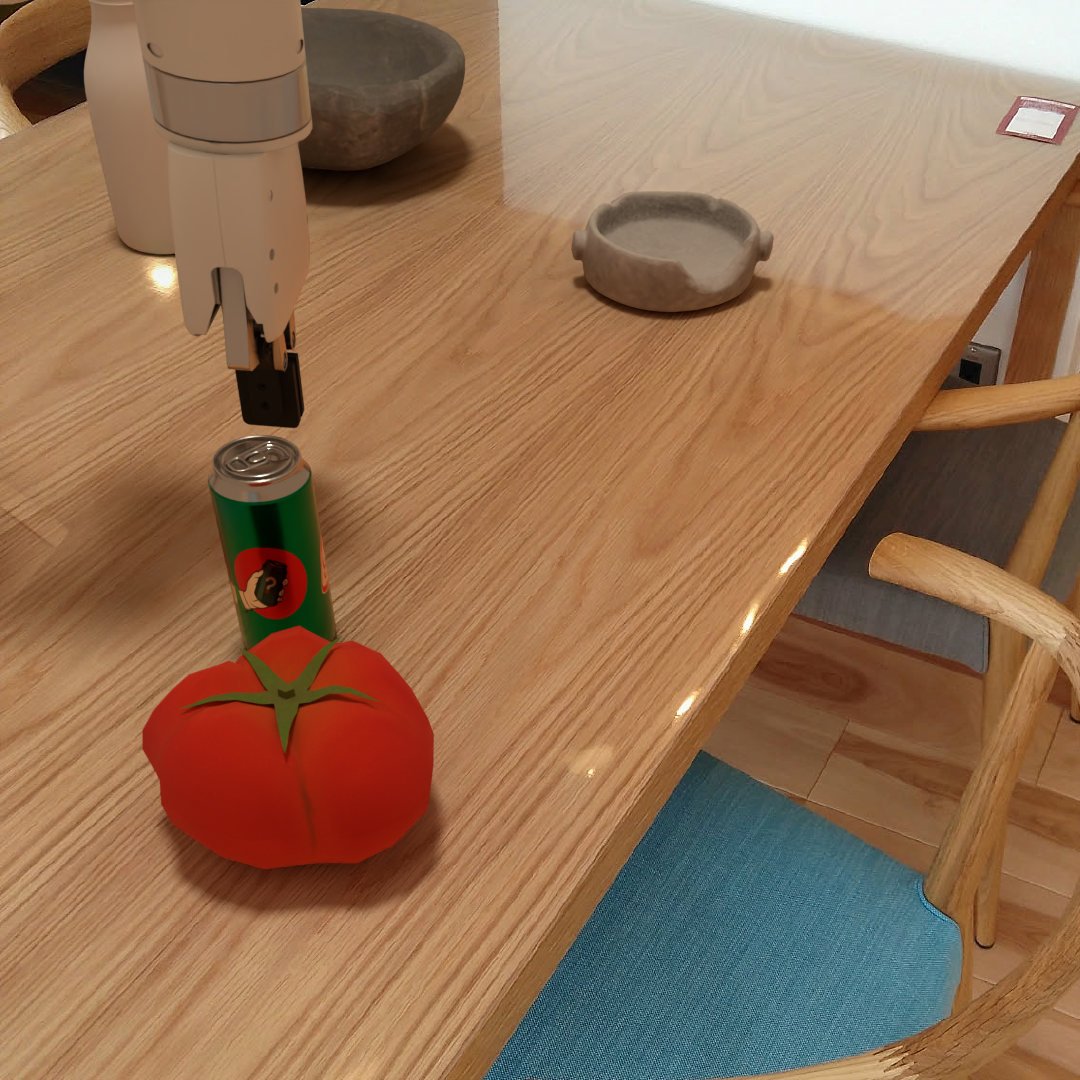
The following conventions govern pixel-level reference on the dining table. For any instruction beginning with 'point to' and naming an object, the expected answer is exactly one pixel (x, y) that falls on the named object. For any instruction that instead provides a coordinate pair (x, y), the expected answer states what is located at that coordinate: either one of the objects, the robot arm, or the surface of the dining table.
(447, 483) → the dining table surface
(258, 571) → the soda can
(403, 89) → the bowl
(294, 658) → the tomato
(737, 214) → the dish
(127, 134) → the milk bottle
